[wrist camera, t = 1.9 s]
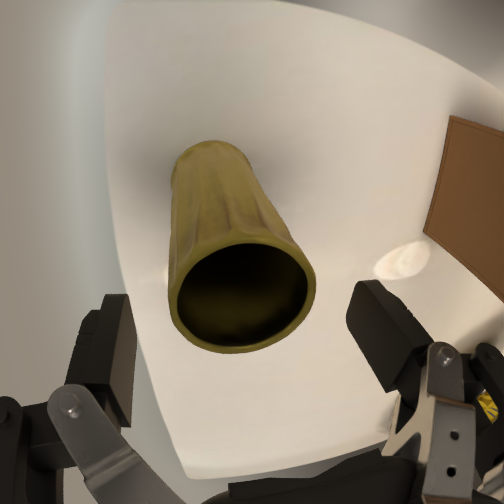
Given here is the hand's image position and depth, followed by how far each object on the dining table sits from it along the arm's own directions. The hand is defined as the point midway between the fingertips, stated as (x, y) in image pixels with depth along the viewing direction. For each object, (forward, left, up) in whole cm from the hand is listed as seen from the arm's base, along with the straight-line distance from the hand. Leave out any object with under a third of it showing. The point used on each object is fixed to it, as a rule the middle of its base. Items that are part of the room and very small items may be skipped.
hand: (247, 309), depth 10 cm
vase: (0, 0, -15) cm, 15 cm away
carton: (+24, +16, -14) cm, 32 cm away
